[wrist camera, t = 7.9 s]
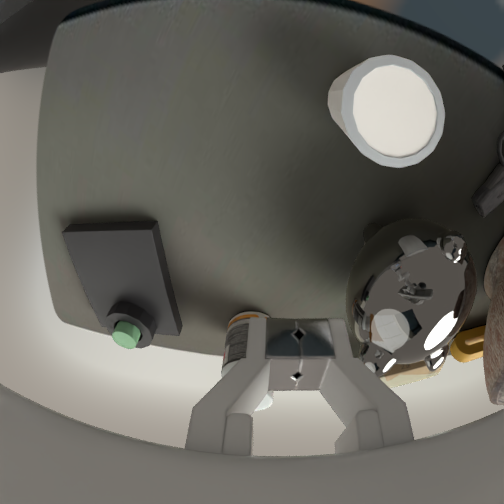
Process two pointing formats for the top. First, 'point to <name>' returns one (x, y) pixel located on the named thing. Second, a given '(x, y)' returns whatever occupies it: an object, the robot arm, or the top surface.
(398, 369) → the box
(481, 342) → the bracket
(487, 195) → the handgun
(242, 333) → the pill bottle
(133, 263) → the grey push button base
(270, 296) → the top surface
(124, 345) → the button
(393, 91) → the shot glass
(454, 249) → the piggy bank
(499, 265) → the ceramic pot
